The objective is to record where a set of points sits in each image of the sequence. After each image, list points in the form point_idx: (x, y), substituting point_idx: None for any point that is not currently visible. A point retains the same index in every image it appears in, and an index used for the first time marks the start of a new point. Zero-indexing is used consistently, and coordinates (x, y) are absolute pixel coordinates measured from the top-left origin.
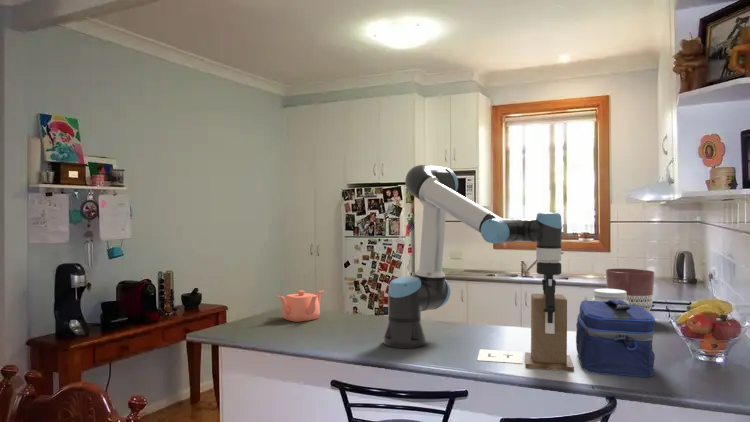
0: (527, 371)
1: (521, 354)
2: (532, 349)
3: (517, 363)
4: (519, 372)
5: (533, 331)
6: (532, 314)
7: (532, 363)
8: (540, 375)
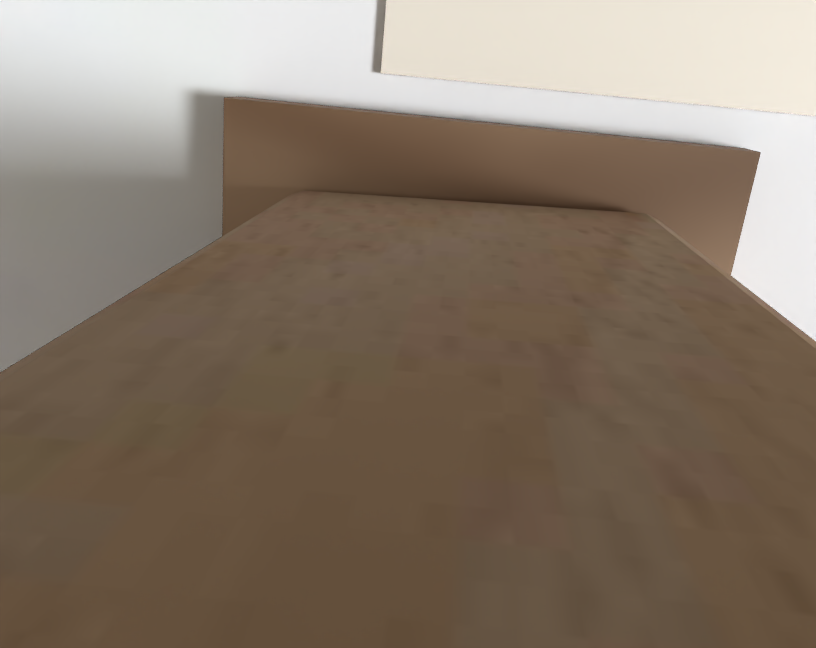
0: (109, 99)
1: (785, 106)
2: (358, 214)
3: (387, 15)
4: (47, 6)
5: (149, 283)
6: (275, 441)
7: (253, 176)
8: (14, 212)
